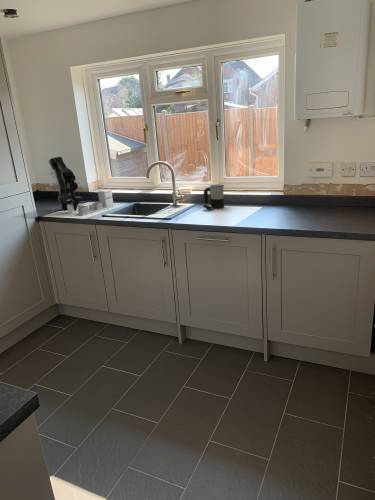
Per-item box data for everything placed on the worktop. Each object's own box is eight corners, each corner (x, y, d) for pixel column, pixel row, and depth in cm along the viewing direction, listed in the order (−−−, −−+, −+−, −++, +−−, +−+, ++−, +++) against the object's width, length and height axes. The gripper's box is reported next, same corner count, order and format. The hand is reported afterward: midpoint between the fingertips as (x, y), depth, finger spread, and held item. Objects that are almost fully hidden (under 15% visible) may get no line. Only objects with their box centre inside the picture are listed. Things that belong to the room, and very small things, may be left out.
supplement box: (106, 208, 292) (104, 191, 288) (99, 208, 296) (97, 191, 293) (113, 206, 298) (111, 189, 294) (107, 206, 302) (105, 189, 298)
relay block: (77, 209, 297) (76, 205, 296) (79, 208, 301) (79, 203, 299) (81, 209, 296) (81, 205, 295) (84, 208, 299) (83, 203, 298)
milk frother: (224, 205, 275) (223, 184, 270) (224, 210, 260) (223, 187, 255) (204, 206, 276) (202, 185, 272) (202, 211, 261) (201, 188, 257)
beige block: (89, 209, 294) (88, 204, 293) (93, 208, 297) (92, 203, 296) (93, 210, 291) (92, 205, 290) (97, 209, 293) (96, 204, 292)
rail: (76, 215, 277) (75, 207, 276) (99, 208, 295) (98, 201, 293) (82, 215, 274) (81, 207, 272) (105, 208, 291) (104, 201, 290)
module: (68, 213, 286) (66, 204, 284) (74, 211, 291) (72, 202, 289) (72, 213, 284) (71, 204, 282) (78, 211, 288) (77, 203, 286)
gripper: (51, 190, 281) (55, 212, 285) (69, 191, 271) (73, 213, 276) (64, 187, 289) (67, 208, 294) (82, 188, 280) (85, 210, 284)
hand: (72, 210), depth 287 cm, fingers open, 5 cm apart
